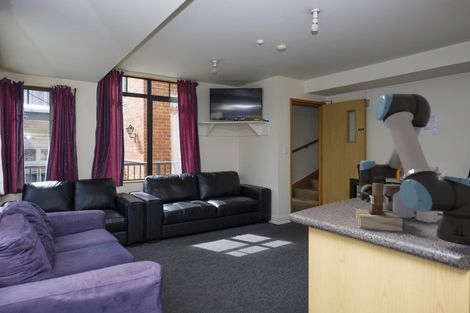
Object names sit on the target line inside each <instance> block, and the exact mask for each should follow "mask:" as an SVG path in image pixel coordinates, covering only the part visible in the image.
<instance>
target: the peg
mask: <svg viewBox="0 0 470 313" xmlns="http://www.w3.org/2000/svg"><path fill="white" fill-rule="evenodd" d="M383 184H384V183H381V182H380V183H379V182H375V183H372V196H373V197H374V204H372V203H371V210H372V215H380V216H383V211H384V209H383Z"/></svg>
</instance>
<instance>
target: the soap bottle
mask: <svg viewBox="0 0 470 313" xmlns="http://www.w3.org/2000/svg"><path fill="white" fill-rule="evenodd" d="M402 170H403V168H401V169H398V170H397V172H396V181H397V182H400V184H401V183H402V182H403V179H402V180H401V178H400V171H402ZM400 191H401V190H400ZM400 191H399V192H397V193H395V194H394V195H393V212H394V213H396V214H397V215H398V216H399V217H401V218H402V219H412V218H413V217H414V212H415V211H413V210H411V209H409V208H407V207H406V206H405V204H404V203H403V201H402V199H401V196H400Z"/></svg>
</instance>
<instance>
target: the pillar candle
mask: <svg viewBox="0 0 470 313" xmlns="http://www.w3.org/2000/svg"><path fill="white" fill-rule="evenodd" d="M382 184H383V194H384V193H388V194H389V195H390V196H391V202H388V205H386V204H385V203H384V202H383V210H384V211H393V195H394V194H395V193H397V192H399V191H400V185H401V184H396V183H393V182H392V183H382Z"/></svg>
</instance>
